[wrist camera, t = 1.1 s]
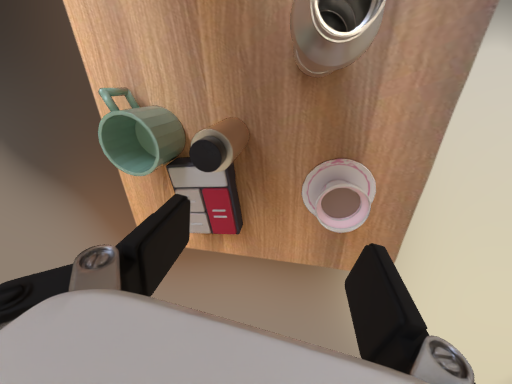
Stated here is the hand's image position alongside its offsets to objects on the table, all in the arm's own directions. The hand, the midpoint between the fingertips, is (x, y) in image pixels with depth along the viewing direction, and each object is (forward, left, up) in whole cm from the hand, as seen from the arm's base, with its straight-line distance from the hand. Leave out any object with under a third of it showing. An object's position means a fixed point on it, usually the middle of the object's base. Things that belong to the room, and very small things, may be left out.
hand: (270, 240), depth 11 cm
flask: (-6, -7, -26) cm, 27 cm away
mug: (-17, -16, -26) cm, 35 cm away
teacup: (+13, 0, -26) cm, 29 cm away
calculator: (-1, -19, -26) cm, 32 cm away
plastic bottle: (-6, +10, -26) cm, 28 cm away
